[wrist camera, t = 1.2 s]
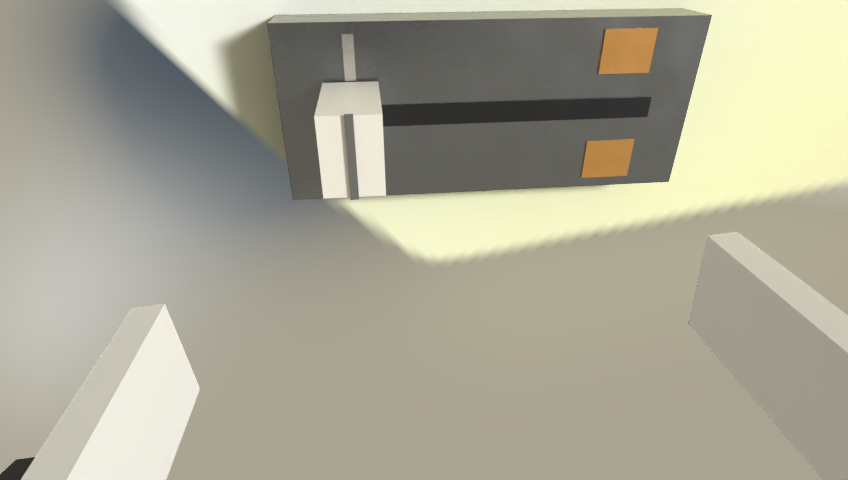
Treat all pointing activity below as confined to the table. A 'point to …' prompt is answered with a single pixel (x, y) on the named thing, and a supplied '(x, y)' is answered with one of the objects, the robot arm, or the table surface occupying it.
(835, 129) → the table surface
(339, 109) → the fader
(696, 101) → the table surface
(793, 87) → the table surface
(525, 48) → the fader panel
